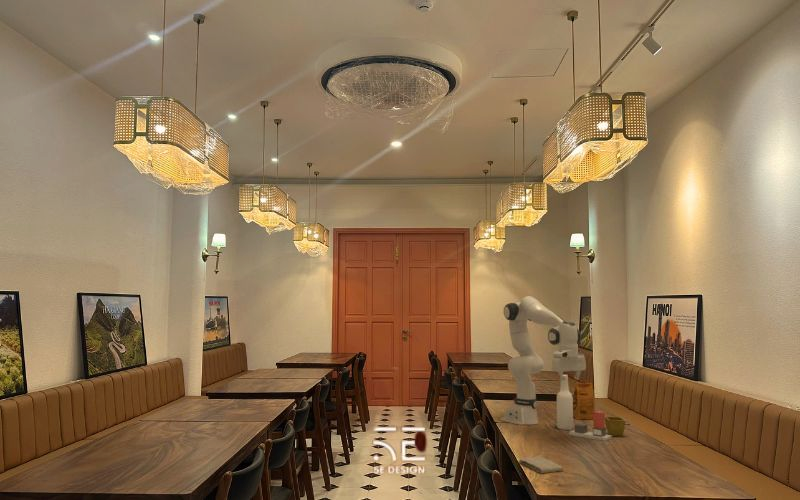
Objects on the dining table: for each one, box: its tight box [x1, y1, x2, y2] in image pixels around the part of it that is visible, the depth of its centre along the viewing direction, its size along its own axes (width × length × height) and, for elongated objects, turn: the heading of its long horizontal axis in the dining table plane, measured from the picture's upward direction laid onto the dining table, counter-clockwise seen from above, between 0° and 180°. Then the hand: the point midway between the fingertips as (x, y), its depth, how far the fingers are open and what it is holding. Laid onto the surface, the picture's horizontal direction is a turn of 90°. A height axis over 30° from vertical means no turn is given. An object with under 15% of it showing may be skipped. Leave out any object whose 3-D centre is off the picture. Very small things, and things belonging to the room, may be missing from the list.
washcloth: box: [518, 456, 564, 474], centre depth 242 cm, size 12×18×3 cm, turn 22°
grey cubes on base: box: [568, 422, 613, 442], centre depth 298 cm, size 20×8×6 cm, turn 51°
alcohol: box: [556, 374, 574, 431], centre depth 318 cm, size 9×9×30 cm
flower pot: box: [605, 416, 626, 437], centre depth 302 cm, size 9×9×9 cm
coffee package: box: [572, 381, 595, 421], centre depth 347 cm, size 10×12×22 cm
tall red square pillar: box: [592, 410, 606, 429], centre depth 296 cm, size 4×4×8 cm
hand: (569, 379), depth 291 cm, fingers open, 8 cm apart
